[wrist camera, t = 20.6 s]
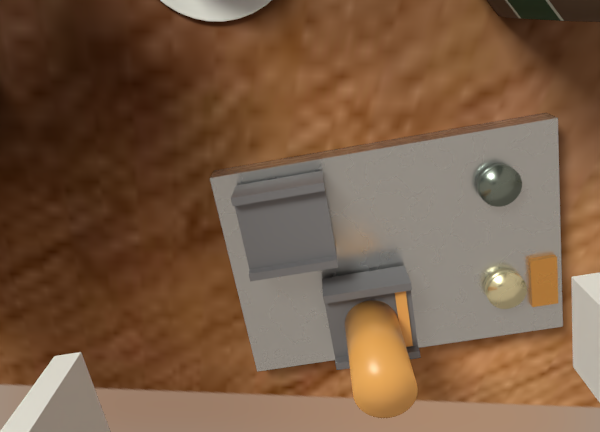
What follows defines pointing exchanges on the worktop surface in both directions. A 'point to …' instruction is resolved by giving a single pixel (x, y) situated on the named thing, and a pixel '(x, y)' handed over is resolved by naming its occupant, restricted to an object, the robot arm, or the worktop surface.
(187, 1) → the pudding
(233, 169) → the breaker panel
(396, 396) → the cap
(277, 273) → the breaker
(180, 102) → the worktop surface
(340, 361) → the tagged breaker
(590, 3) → the beer bottle
